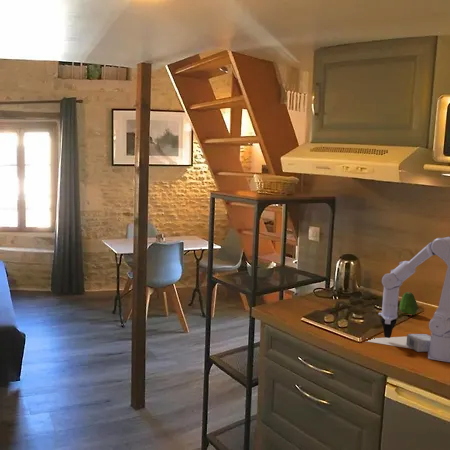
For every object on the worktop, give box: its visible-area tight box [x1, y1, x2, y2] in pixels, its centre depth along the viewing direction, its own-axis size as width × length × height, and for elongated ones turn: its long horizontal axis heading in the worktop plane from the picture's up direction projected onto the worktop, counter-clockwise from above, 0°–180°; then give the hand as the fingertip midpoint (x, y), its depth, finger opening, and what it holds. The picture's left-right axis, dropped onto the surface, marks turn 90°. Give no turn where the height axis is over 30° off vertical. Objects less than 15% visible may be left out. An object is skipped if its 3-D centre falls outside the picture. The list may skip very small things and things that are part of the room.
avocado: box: [398, 291, 418, 316], centre depth 235 cm, size 8×8×12 cm
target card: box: [366, 336, 413, 350], centre depth 205 cm, size 20×20×1 cm
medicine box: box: [406, 333, 431, 353], centre depth 193 cm, size 8×4×9 cm
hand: (387, 337), depth 198 cm, fingers closed
